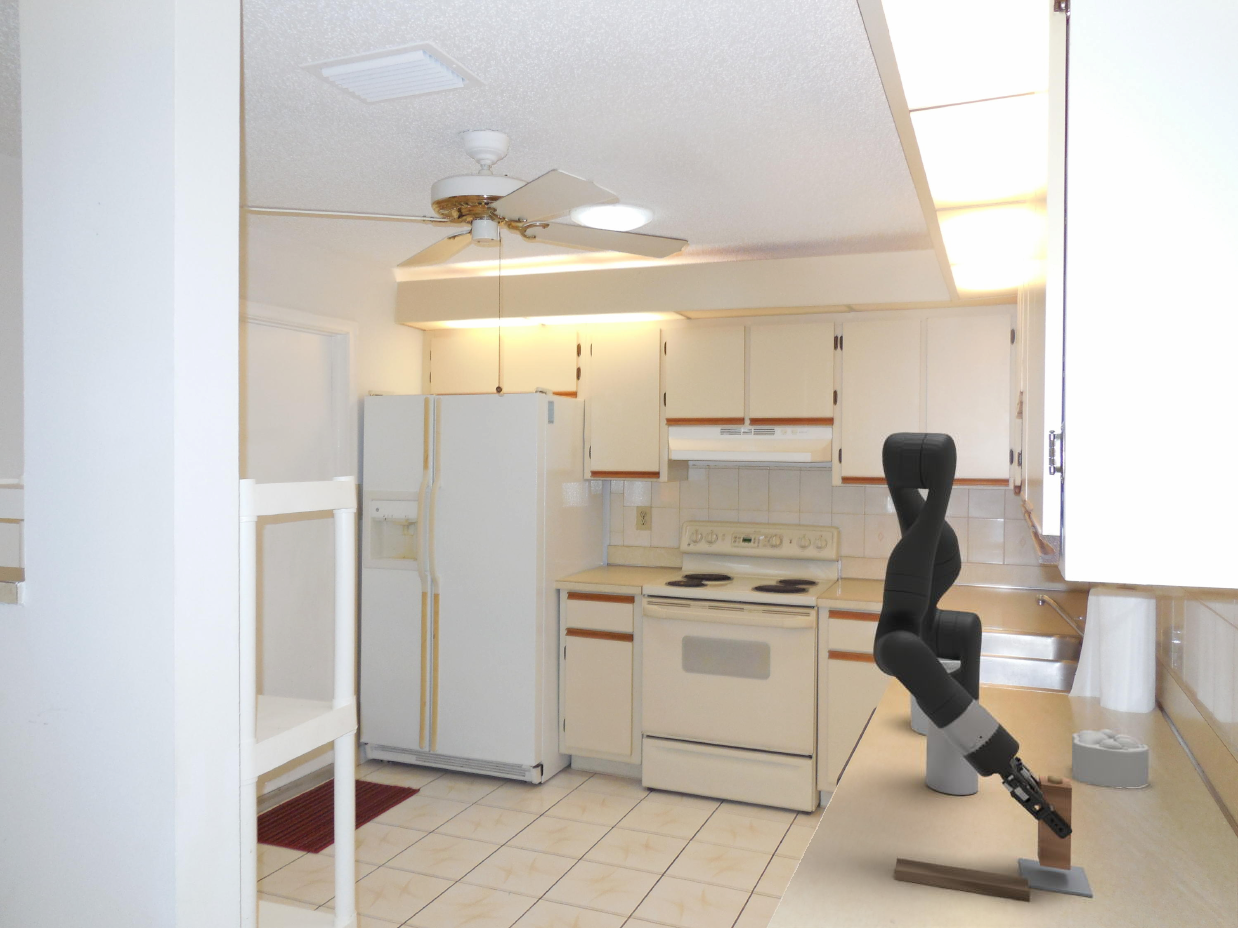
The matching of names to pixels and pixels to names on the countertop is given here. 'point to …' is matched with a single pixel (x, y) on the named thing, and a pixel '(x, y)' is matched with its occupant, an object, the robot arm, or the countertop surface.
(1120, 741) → the lumpy-topped squat cylinder
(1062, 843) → the post
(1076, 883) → the slate mat
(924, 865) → the walnut board
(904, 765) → the countertop surface
